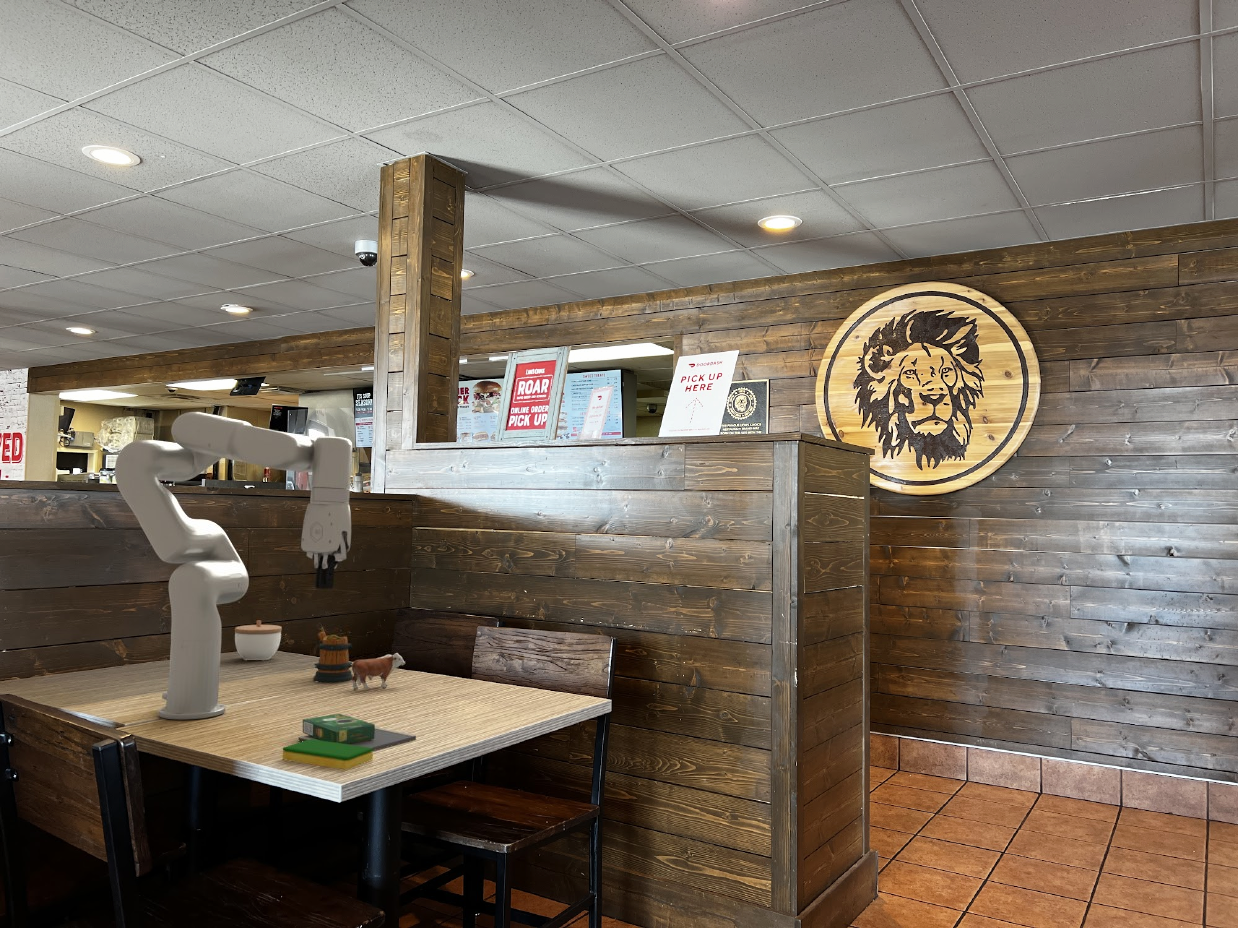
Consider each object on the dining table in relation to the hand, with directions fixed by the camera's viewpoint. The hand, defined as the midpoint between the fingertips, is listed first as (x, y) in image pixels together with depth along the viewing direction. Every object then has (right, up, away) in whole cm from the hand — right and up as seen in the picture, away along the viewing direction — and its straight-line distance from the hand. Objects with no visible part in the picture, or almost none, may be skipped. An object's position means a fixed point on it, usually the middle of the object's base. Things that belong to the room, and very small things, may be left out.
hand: (324, 587), depth 179 cm
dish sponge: (+10, -26, -27) cm, 39 cm away
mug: (-15, -30, +49) cm, 59 cm away
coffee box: (+2, -25, -9) cm, 26 cm away
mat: (+11, -27, -13) cm, 32 cm away
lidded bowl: (-45, -32, +77) cm, 95 cm away
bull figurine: (0, -30, +38) cm, 49 cm away
